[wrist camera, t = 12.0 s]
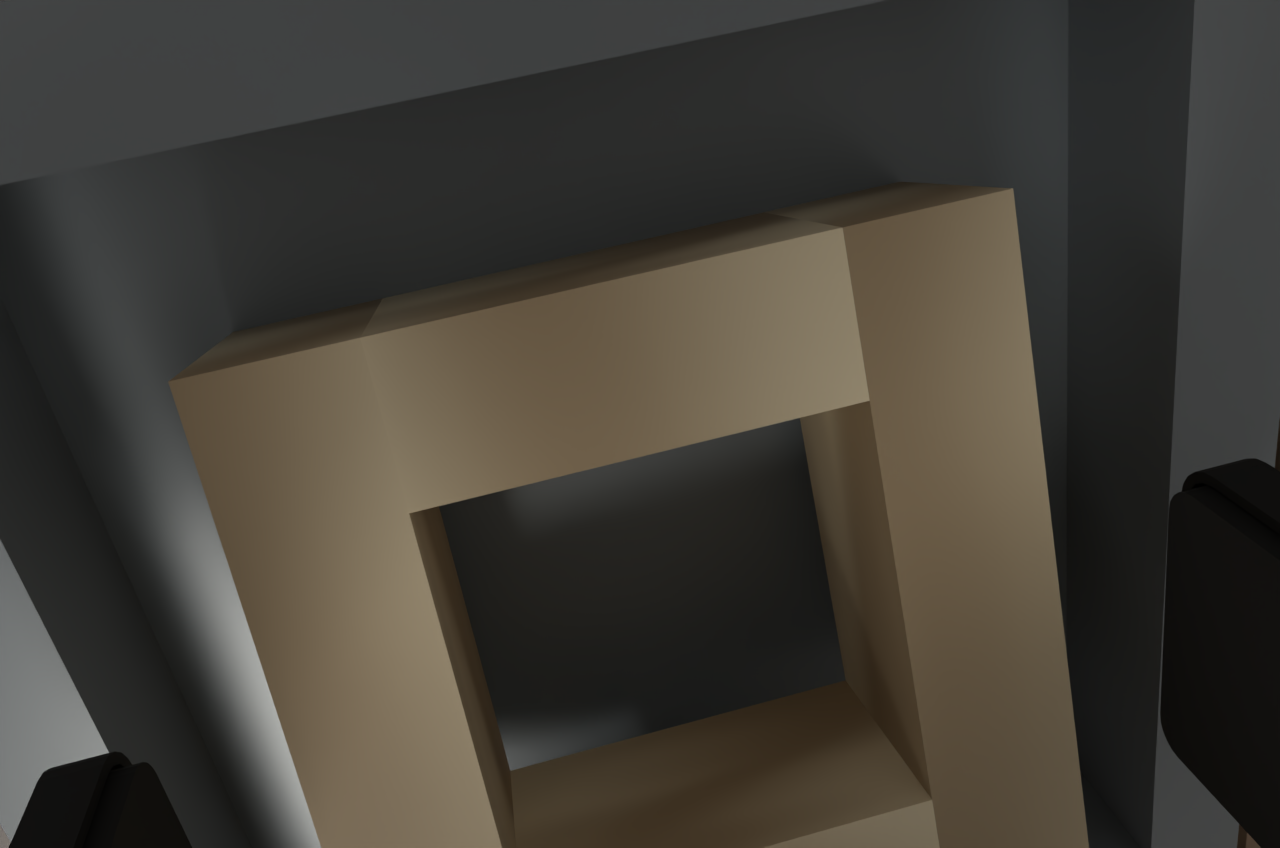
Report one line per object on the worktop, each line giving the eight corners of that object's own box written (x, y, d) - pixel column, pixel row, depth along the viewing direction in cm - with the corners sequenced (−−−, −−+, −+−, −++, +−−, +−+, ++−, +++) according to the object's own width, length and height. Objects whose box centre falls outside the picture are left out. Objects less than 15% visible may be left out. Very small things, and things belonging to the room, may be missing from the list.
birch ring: (900, 181, 12) (1012, 188, 9) (1001, 895, 14) (1112, 1048, 12) (233, 332, 11) (168, 382, 9) (456, 1055, 13) (454, 1251, 11)
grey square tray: (1122, 768, 17) (1231, 900, 15) (250, 1017, 16) (223, 1202, 13) (1154, -224, 11) (1346, -259, 9) (-242, 44, 10) (-436, 85, 7)
